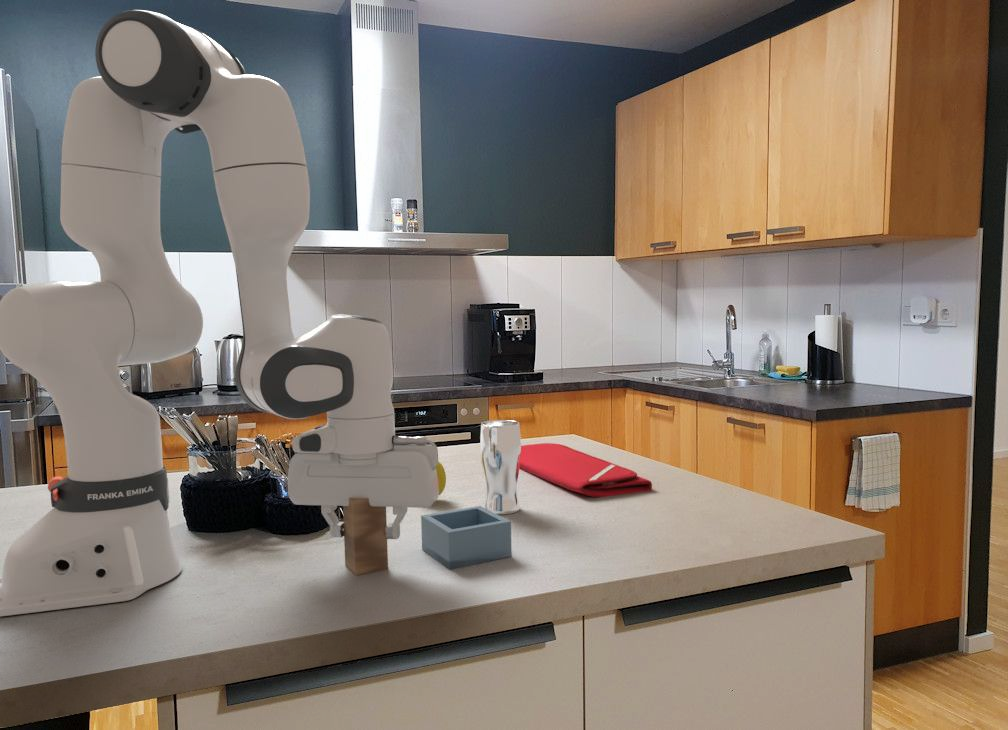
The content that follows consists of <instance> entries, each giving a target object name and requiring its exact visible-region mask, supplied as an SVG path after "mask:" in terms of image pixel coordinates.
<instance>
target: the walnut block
mask: <svg viewBox="0 0 1008 730" xmlns="http://www.w3.org/2000/svg"><path fill="white" fill-rule="evenodd" d="M342 515H343V517H342V518H343V522H344V536H343V539H344V543H343V544H344V563H345V567H346V568H347V569H348V570H349V571H350V572H351V573H353V574H354V575H355V576H359V575H365V574H370V573H375V572H380V571H387V570H388V569H389V559H388V557H389V556H388V555H389V554H388V553H389V552H388V539H386V534H387V533H386V530H385V527H386V526H387V525H388V523H387V507H373V506H371V505H370V503H369V498H349V506H342Z"/></svg>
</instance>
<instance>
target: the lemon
mask: <svg viewBox="0 0 1008 730" xmlns="http://www.w3.org/2000/svg"><path fill="white" fill-rule="evenodd" d="M436 471H437V477H438V485H439V496H440V495H441V494H442V493H443V492H444V490H445V488H446V484H447V475H446V472H445V468H444V466H443V464H442V463H441V462H440V461H439V460H438V464H437V466H436Z"/></svg>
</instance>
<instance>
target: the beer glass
mask: <svg viewBox="0 0 1008 730" xmlns="http://www.w3.org/2000/svg"><path fill="white" fill-rule="evenodd" d="M520 426H521V425H520V422H519V421H518V420H510V419H496V420H495V419H493V420H486V421H482V422H481V423H480V436H479V439H480V443H479V448H480V451H479V453H480V459H481V466H482V470H483V476H484V481H485V501H484V505H483V506H484V507H483V508H485V509H487V510H489V511H491V512H493V513H495V514H497V515H509V514H510V515H511V514H515V513H518V512H519V511H520V509H521V507H520V503H519V497H518V496H519V495H518V481H519V480H518V479H519V475H520V474H519V473H520V469H521V468H520V460H521V446H522V438H521V437H522V436H521V428H520Z"/></svg>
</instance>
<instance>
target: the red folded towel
mask: <svg viewBox="0 0 1008 730" xmlns="http://www.w3.org/2000/svg"><path fill="white" fill-rule="evenodd" d="M519 469H521V470H523V471H526V473H528V474H531V475H533V476H537V477H539V478H541V479H543V480H546V481H548V482H550V483H552V484H556V485H557V486H560V487H562V488H564V489H567V490H569V491H572V492H576V493H578V494H581V495H584V496H588V497H593V498H604V497H611V496H620V495H621V496H622V495H628V494H638V493H643V492H644V493H645V492H651V491H652V489H653V483H652V481H651V480H650V479H647V478H644V477H641V476H638V473H637V472H636V471H634V470H631V469H629V468H626V467H624V466H621V465H618V464H616V463H612V462H611V461H607V460H604V459H601V458H599V457H596V456H593V455H590V454H588V453H585V452H582V451H580V450H577V449H574V448H571V447H569V446H567V445H563V444H560V443H551V442H550V443H549V442H544V443H535V444H534V443H533V444H525V445H521V460H520V468H519Z"/></svg>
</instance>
